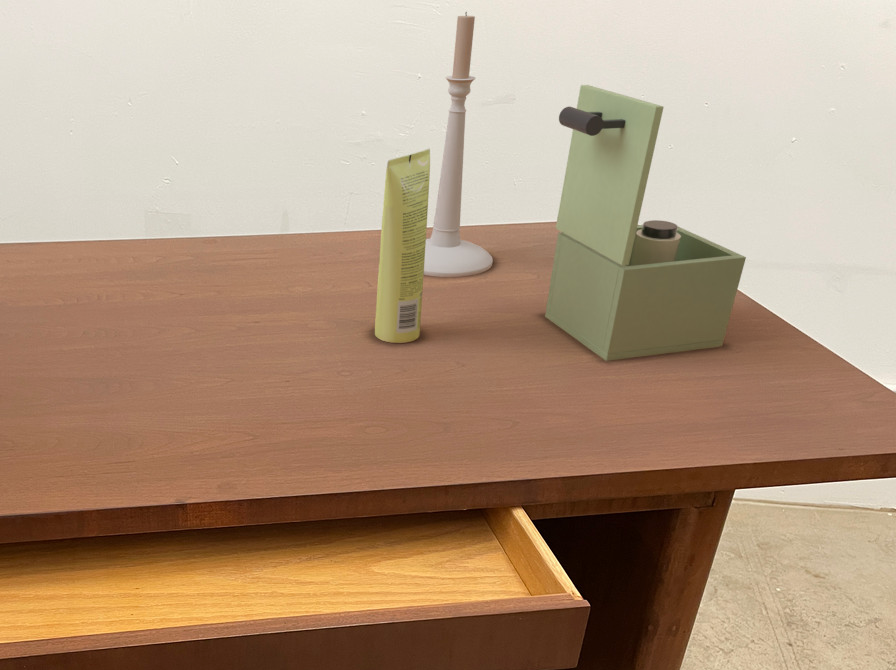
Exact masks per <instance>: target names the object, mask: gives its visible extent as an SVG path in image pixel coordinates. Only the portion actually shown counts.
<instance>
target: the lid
mask: <svg viewBox="0 0 896 670" xmlns="http://www.w3.org/2000/svg"><path fill="white" fill-rule="evenodd" d="M664 107H665V106H663V105H660V104H656V103H653V102H649V101H646V100H644V99H643V100H642V99H639V98H635V97H632V96H628V95H624V94H621V93H617V92H613V91H610V90H607V89H604V88H600V87H597V86H593V85H589V84H580V87H579V93H578V97H577V104H576V107H574V106H566V107H564V108H562V109H561V111H560V113H559V115H558V122H559V124H560V125H561V126H563V127H566V128H569V129H571V130H572V132H571V139H570V144H569V150H568V155H567V161H566V168H565V174H564V179H563V185H562V190H561V195H560V202H559V207H558V213H557V219H556V224H555V229H556V230H557V231H559V232H560V233H562V232H563V233H564V234H566V235H568V236H570V237H572V238H573V239H575V240H577V241H579V242H581V243H582V244H584V245H586V246H588V247H590V248H591V249H593V250H595V251H597V252H599V253H600V254H602V255H604V256H606V257H608V258H609V259H611V260H613V261H615V262H617V263H619V264H620V265H629V261H630V257H631V252H632V248H633V243H634V239H635V234H636V230H637V225H639V221H640V215H641V211H642V206H643V203H644V197H645V193H646V189H647V183H648V181H649V175H650V171H651V166H652V161H653V158H654V157H653V156H654V152H655V148H656V143H657V139H658V134H659V130H660V125H661V121H662V117H663V112H664Z"/></svg>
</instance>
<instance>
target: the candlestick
mask: <svg viewBox="0 0 896 670" xmlns="http://www.w3.org/2000/svg"><path fill="white" fill-rule="evenodd" d="M467 13H468V12H467V11H465V13H464V14H465V15H458V16H457V18H456V19H457V20H456V30H455V31H456V32H455V43H454V53H453V54H454V55H453V65H452V75H448V76H445V79H446V80H447V82H448V85H449V87H448V90H447V92H448V94H449V95H450V96H451V97H450V100H451V105H450V107H449V109H448V118H447V123H446V124H447V126H446V132H445V140H444V147H443V154H442V161H441V167H440V168H441V169H440V176H439V182H438V190H437V197H436V206H435V213H434V220H433V225H432V231H431V235H430V237H429V238H426V245H425V261H424V275H425V276H431V277H441V278H459V277H460V278H461V277H469V276H474V275H479V274H481V273H485V272H486V271H488V270H489V269H491V268H492V266H493V263H494V260H493V257H492V255H491V254H490V253H489V251H487V250H486V249H485V248H483V247H482V246H480V245H478V244H476V243H473V242H471V241H468V240H465V239H464V240H463V239H461V231H460V229H461V213H462V190H463V172H464V171H463V169H464V149H465V128H466V112H467V109H466V105H465V103H466V100H467V97H468V95H469V94H470V93H471V84H472V82H473V81H474V80H476V77H475V76H471V75H470V71H471V60H472V52H473V51H472V50H473V40H474V32H475V31H474V29H475V19H476V16H474V15H468V14H467Z"/></svg>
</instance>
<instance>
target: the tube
mask: <svg viewBox="0 0 896 670" xmlns="http://www.w3.org/2000/svg"><path fill="white" fill-rule="evenodd" d="M386 162H387V163H386V171H385V181H384V194H383V206H382V217H381V229H380V230H381V231H380V243H379V245H380V246H379V257H378V259H379V260H378V274H377V288H376V289H377V290H376V303H375V321H374V337H376V338H377V339H378V340H380V341H382V342H386V343H391V344H407V343H411V342H414V341H416V340H418V339H419V337H420V333H421V319H422V308H423V307H422V306H423V292H424V291H423V290H424V261H425V245H426V239H427V230H428V229H427V227H428V213H429V211H428V210H429V193H430V178H431V177H430V176H431V149H430V147H429V148H426V149H423V150H420V151H416V152H413V153H410V154H406V155H402V156H398V157H393V158H391V159H387V161H386Z"/></svg>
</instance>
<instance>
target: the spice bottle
mask: <svg viewBox="0 0 896 670" xmlns="http://www.w3.org/2000/svg"><path fill="white" fill-rule="evenodd" d="M642 225H643V226H642V229H641V230H638V231H637V232H636V236H635V241H634V246H633V250H632V255H631V260H630V265H629V266H635V265H645V264H655V263H664V262H674V261H676V256H677V252H678V247H679V243H680V239H681V235H680V234H678V233H677V229H678V227H679V226H678V224H676V223H674V222H671V221H668V220H667V221H666V220H655V219H654V220H647V221H644V222H643V223H642Z"/></svg>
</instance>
